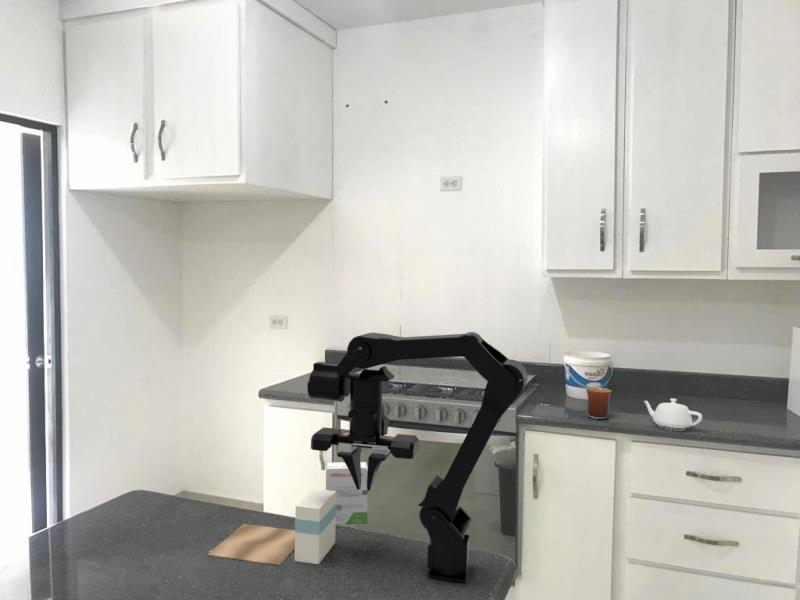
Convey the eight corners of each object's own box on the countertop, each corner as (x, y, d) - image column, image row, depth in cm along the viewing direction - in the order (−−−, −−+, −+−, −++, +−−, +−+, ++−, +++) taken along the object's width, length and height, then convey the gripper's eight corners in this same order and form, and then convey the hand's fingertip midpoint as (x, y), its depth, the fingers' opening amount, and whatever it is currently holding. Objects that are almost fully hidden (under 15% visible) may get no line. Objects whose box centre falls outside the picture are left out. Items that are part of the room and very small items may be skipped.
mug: (614, 421, 222) (615, 392, 222) (590, 421, 222) (592, 392, 221) (600, 413, 234) (601, 385, 234) (577, 413, 233) (578, 385, 233)
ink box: (366, 515, 133) (367, 460, 132) (367, 525, 128) (368, 468, 127) (325, 515, 132) (326, 460, 131) (324, 525, 127) (325, 468, 127)
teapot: (634, 425, 218) (635, 396, 217) (649, 419, 226) (651, 391, 226) (693, 437, 203) (695, 406, 203) (708, 430, 212) (709, 401, 211)
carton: (335, 542, 120) (336, 491, 119) (318, 564, 111) (319, 509, 110) (312, 539, 121) (313, 488, 120) (294, 561, 112) (295, 506, 111)
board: (309, 533, 123) (309, 532, 123) (279, 565, 110) (279, 564, 110) (243, 524, 126) (243, 523, 126) (207, 555, 113) (207, 554, 113)
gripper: (425, 398, 118) (423, 480, 119) (331, 391, 122) (329, 470, 123) (413, 411, 107) (411, 501, 108) (310, 403, 111) (308, 490, 112)
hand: (364, 489), depth 113 cm, fingers closed
